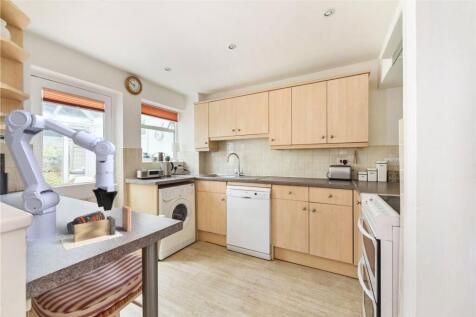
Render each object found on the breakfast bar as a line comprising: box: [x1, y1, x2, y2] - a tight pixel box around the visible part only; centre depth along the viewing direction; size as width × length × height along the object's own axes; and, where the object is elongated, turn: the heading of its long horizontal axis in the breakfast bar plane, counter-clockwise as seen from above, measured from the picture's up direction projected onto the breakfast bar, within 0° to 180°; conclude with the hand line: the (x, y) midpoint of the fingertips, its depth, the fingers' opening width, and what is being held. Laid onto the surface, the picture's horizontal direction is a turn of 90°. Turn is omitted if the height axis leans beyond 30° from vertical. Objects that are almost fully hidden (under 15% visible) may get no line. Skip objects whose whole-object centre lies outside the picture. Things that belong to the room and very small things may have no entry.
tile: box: [121, 205, 132, 233], centre depth 79 cm, size 1×6×9 cm, turn 46°
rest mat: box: [59, 228, 124, 251], centre depth 71 cm, size 16×12×1 cm
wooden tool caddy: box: [73, 215, 116, 243], centre depth 72 cm, size 11×6×6 cm, turn 136°
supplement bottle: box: [66, 210, 106, 234], centre depth 79 cm, size 6×6×11 cm
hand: (104, 208), depth 78 cm, fingers open, 7 cm apart
